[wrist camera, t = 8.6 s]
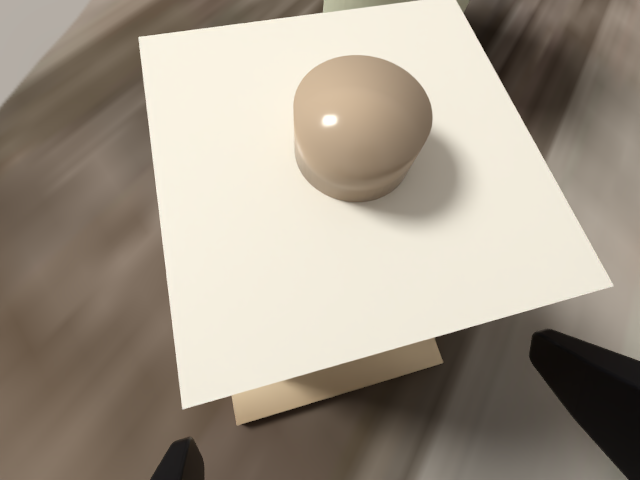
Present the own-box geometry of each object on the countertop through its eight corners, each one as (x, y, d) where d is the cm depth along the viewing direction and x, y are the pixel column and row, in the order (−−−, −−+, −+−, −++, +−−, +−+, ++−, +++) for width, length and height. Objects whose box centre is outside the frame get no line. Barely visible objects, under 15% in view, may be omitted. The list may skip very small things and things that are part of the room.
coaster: (438, 362, 17) (443, 363, 16) (239, 423, 15) (236, 425, 15) (376, 189, 20) (378, 184, 19) (205, 226, 18) (202, 222, 18)
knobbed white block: (397, 336, 16) (683, 269, 4) (267, 372, 16) (148, 424, 3) (359, 217, 18) (477, -60, 6) (241, 244, 18) (110, -20, 5)
